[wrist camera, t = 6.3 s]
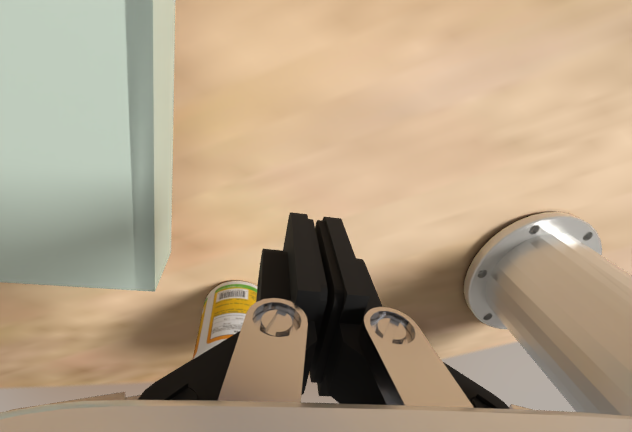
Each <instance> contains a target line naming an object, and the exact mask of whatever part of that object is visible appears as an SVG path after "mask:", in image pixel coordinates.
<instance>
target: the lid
mask: <svg viewBox="0 0 632 432" xmlns="http://www.w3.org/2000/svg"><path fill="white" fill-rule="evenodd" d="M174 46H175V0H0V282H6V283H23V284H39V285H56V286H72V287H89V288H105V289H122V290H138V291H155V290H156V288H157V285H158V283H159V280H160V278H161V275H162V273H163V271H164V268H165V266H166V263H167V261H168V258H169V256H170V253H171V225H172V165H173V106H174Z"/></svg>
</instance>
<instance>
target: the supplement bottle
mask: <svg viewBox="0 0 632 432" xmlns="http://www.w3.org/2000/svg"><path fill="white" fill-rule="evenodd" d="M256 297H257V286H256V285H254V284H251V283H249V282H244V281H230V282H225V283H222V284H220V285H218V286H217V287H215V288H214V289H213V290H212V291H211V292H210V293H209V294H208V296H207V297H206V300H205V303H204V307H203V311H202V317H201V322H200V327H199V331H198V336H197V341H196V346H195V350H194V355H193V359H194V358H196V357H198V356H199V355H201V354H203V353H204V352H206V351H208V350H209V349H211V348H213V347H214V346H216V345H218V344H219V343H221V342H222V341H224V340H226V339H227V338H229V337H231V336H232V335H234V334H236V333H237V332H239V331H241V328H242V325H243V322H244V319H245V316H246V313H247V311H248V309H249V308H250V307H251V306H252V305H253V304H254V303H256Z"/></svg>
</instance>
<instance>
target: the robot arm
mask: <svg viewBox="0 0 632 432" xmlns="http://www.w3.org/2000/svg"><path fill="white" fill-rule="evenodd" d="M464 295H465V300H466V303H467V305H468V307H469V308H470V310H471V311H472V312H473V314H474V315H475V316H476V317H477V318H478V319H479V320H480V321H481V322H482V323H484V324H486V325H489V326H491V327H495V328H499V329H508V330H509V331H510V332H511V334H512V335H513V336H514V337H515V338H516V340H517V341H518V342H519V343H520V344H521V346H522V347H523V348H524V349H525V350H526V351H527V353H528V354H529V355H530V356H531V358H532V359H533V360H534V361H535V363H536V364H537V365H538V366H539V367H540V368H541V370H542V371H543V372H544V373H545V375H546V376H547V377H548V378H549V379H550V381H551V382H552V383H553V384H554V386H555V387H556V388H557V389H558V390H559V392H560V393H561V394H562V395H563V396H564V398H565V399H566V400H567V401H568V402H569V404H570V405H571V406H572V407H573V408H574V410H575V411H576V412H564V411H545V410H533V409H529V408H525V407H521V406H517V405H513V404H511V405H510V407H508V406H507V405H506V404H505V403H504V402H503V401H501V400H500V399H499V398H498V397H496V396H495V395H494V394H492V393H491V392H489V391H487V390H486V389H484V388H483V387H481V386H480V385H478V384H477V383H475V382H473V381H472V380H470V379H469V378H467V377H466V376H464V375H463V374H461V373H459V372H458V371H456V370H455V369H453V368H452V367H450V366H449V365H447V364H445V363H444V362H442V360H441V359H440V357H439V356H438V354H437V353H436V351H435V350H434V348H433V347H432V345H431V344H430V343H429V341H428V340H427V338H426V337H425V335H424V334H423V332H422V331H421V329H420V328H419V326H418V325H417V324H416V323H415V322H414V321H413V319H411V318H410V317H409V316H407V315H406V314H404V313H402V312H400V311H398V310H396V309H392V308H389V307H382V305H381V302H380V300H379V297H378V295H377V292H376V290H375V287H374V285H373V282H372V280H371V277H370V275H369V272H368V270H367V267H366V265H365V263H364V261H363V260H362V259H356V257H355V255H354V252H353V249H352V247H351V244H350V241H349V239H348V236H347V233H346V230H345V228H344V225H343V222H342V220H341V219H339V218H331V217H324V218H323V220H322V221H320V220H317V222H316V226H314V222H313V220H312V219H308V216H307V214H299V213H290V215H289V219H288V225H287V231H286V237H285V242H284V248H283V251H280V250H270V249H263V250H262V256H261V263H260V270H259V278H258V286H257V297H256V303H254V304H253V305H252V306H251V307H250V308H249V309H248V311H247V313H246V316H245V319H244V322H243V325H242V328H241V331H239V332H237V333H236V334H234V335H232V336H231V337H229V338H227V339H226V340H224V341H222V342H221V343H219V344H218V345H216V346H214V347H213V348H211V349H209V350H208V351H206V352H204V353H203V354H201V355H199V356H198V357H196V358H194V359H193V360H191V361H190V362H188V363H186V364H185V365H183V366H181V367H180V368H178V369H176V370H175V371H173V372H171V373H170V374H168V375H167V376H165V377H163V378H162V379H160V380H158V381H157V382H155V383H154V384H152V385H151V386H150V387H149V388H147V389H146V390H145V391H144V392H143V393H142V395H137V396H131V397H126V395H125V392H120V393H114V394H107V395H101V396H95V397H88V398H83V399H76V400H70V401H63V402H57V403H51V404H45V405H39V406H32V407H26V408H20V409H14V410H10V411H6V412H1V413H0V432H632V275H630V274H629V273H627V272H626V271H624V270H623V269H621V268H620V267H618V266H617V265H615V264H614V263H612V262H611V261H609V260H608V259H606V258H605V257H603V256H602V245H601V239H600V237H599V235H598V233H597V231H596V230H595V229H594V228H593V227H592V226H591V225H590V224H589V223H587V222H585V221H584V220H582V219H580V218H579V217H576V216H574V215H571V214H569V213H562V212H545V213H540V214H536V215H531V216H528V217H526V218H523V219H521V220H518V221H516V222H514V223H513V224H511V225H509V226H507V227H506V228H504V229H502V230H501V231H500V232H499V233H497V234H496V235H495V236H493V237H492V238H491V239H490V240H489V241H488V242H487V243H486V244H485V245H484V246H483V247H482V248H481V249H480V251H479V252H478V253H477V255H476V256H475V258H474V259H473V261H472V263H471V265H470V267H469V269H468V271H467V274H466V278H465V281H464ZM309 371H310V378H311V382H317V384H318V393H319V396H332V397H333V398H334V399H335V400H336V401H337V404H334V403H331V404H330V403H301V395H302V394H303V393H304V390H305V386H306V383H307V379H308V375H309Z"/></svg>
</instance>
